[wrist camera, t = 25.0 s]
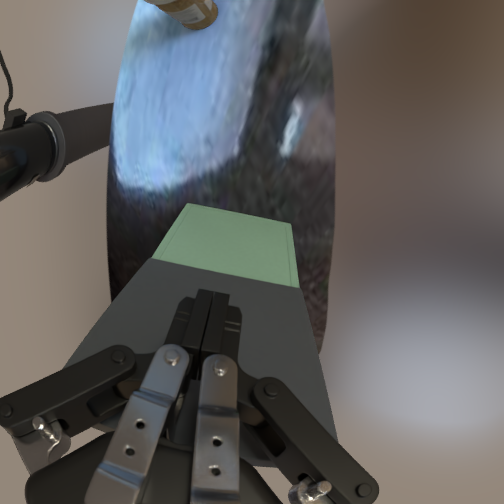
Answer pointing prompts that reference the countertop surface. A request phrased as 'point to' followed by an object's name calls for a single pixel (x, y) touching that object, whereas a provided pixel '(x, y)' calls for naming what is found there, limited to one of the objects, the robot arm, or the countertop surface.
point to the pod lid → (250, 346)
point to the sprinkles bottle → (189, 11)
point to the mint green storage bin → (231, 245)
